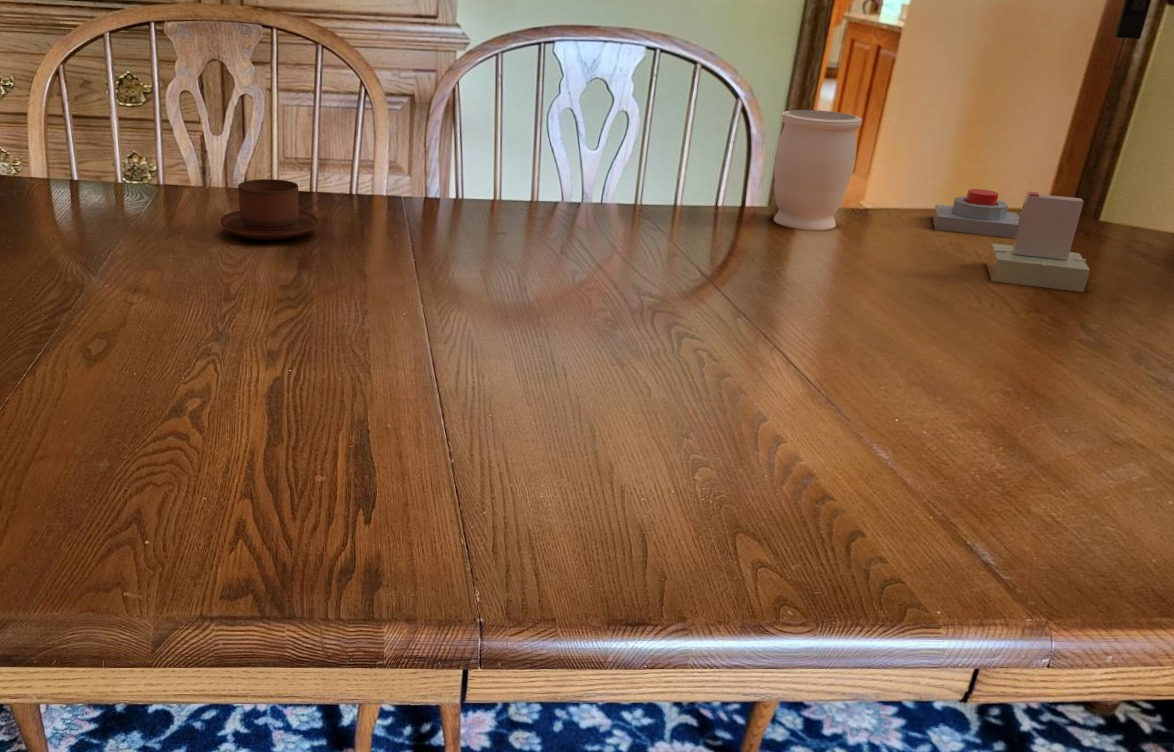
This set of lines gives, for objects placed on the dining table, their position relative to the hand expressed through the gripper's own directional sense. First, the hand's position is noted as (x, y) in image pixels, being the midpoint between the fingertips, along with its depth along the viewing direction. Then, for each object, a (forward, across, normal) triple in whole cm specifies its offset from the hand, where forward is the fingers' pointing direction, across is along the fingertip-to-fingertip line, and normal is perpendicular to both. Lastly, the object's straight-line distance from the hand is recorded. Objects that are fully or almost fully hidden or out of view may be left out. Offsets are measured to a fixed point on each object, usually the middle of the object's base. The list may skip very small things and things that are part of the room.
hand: (1127, 37), depth 143 cm
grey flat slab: (+23, +27, -8) cm, 37 cm away
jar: (+27, +11, -36) cm, 46 cm away
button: (+23, +2, -13) cm, 26 cm away
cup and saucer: (+27, +50, -99) cm, 114 cm away
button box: (+26, +2, -13) cm, 30 cm away
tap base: (+26, +27, -8) cm, 39 cm away
